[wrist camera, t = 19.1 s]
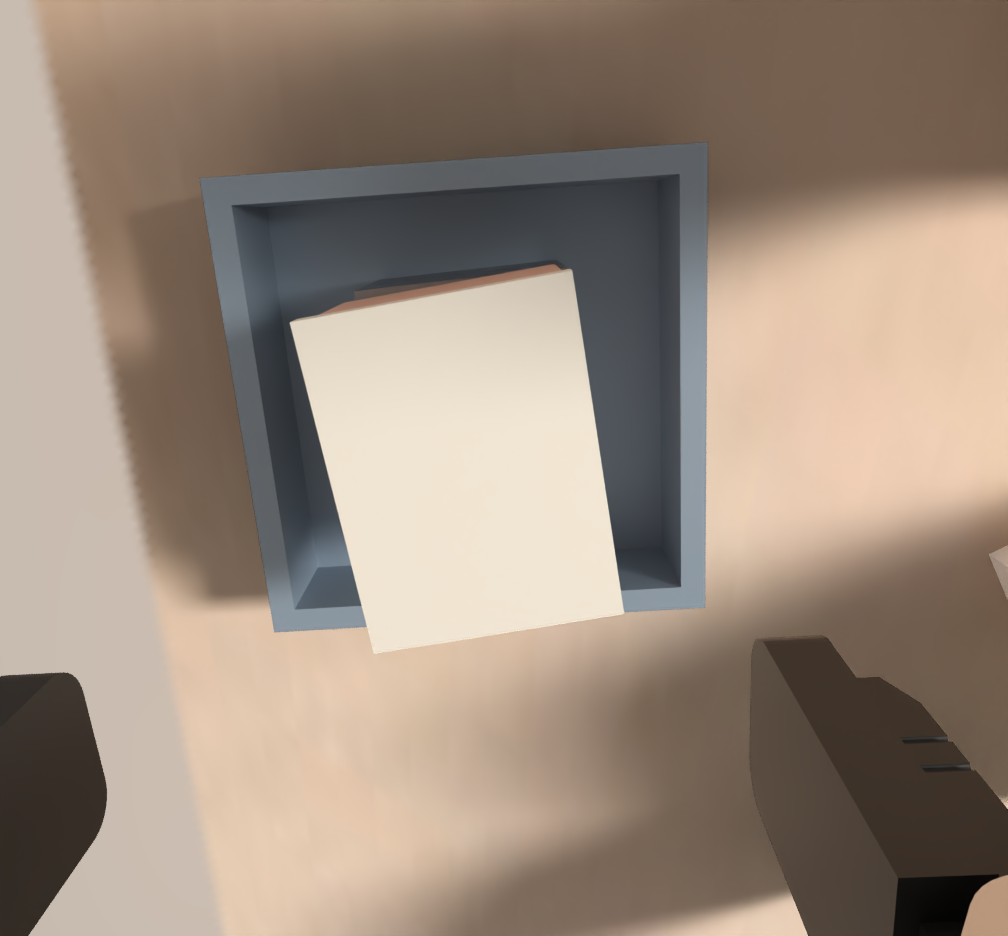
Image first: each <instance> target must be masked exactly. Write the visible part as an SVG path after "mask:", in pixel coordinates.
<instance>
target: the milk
mask: <svg viewBox="0 0 1008 936" xmlns="http://www.w3.org/2000/svg"><path fill="white" fill-rule="evenodd" d="M989 556H990V559H991V561H992V564H993V566H994V569H995V571H996V573H997V576H998V578H999V581H1000V583H1001V586H1002V588H1003V590H1004V593H1005V595H1006V598H1007V600H1008V545H1007V546H1005V547H1003V548H1001V549H998V550H996V551H994V552H992V553H990V554H989Z"/></svg>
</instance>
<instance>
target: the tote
mask: <svg viewBox="0 0 1008 936" xmlns="http://www.w3.org/2000/svg"><path fill="white" fill-rule="evenodd" d="M200 184H201V190H202V196H203V203H204V209H205V215H206V221H207V227H208V233H209V239H210V245H211V251H212V257H213V263H214V269H215V275H216V281H217V287H218V293H219V299H220V306H221V312H222V318H223V324H224V330H225V336H226V342H227V348H228V354H229V360H230V366H231V372H232V378H233V384H234V390H235V396H236V403H237V409H238V415H239V421H240V427H241V433H242V439H243V445H244V451H245V457H246V463H247V469H248V475H249V481H250V487H251V493H252V500H253V506H254V512H255V518H256V524H257V530H258V536H259V542H260V548H261V554H262V560H263V566H264V572H265V578H266V584H267V590H268V596H269V603H270V609H271V615H272V621H273V627H274V632H289V631H307V630H324V629H341V628H359V627H367V625H366V621H365V617H364V613H363V609H362V605H361V601H360V597H359V594H358V590H357V586H356V582H355V578H354V574H353V570H352V566H351V562H350V558H349V554H348V550H347V546H346V542H345V538H344V534H343V531H342V527H341V523H340V519H339V515H338V511H337V507H336V503H335V499H334V495H333V491H332V487H331V483H330V479H329V475H328V471H327V468H326V464H325V460H324V456H323V452H322V448H321V444H320V440H319V436H318V432H317V428H316V424H315V420H314V416H313V412H312V408H311V404H310V401H309V397H308V393H307V389H306V385H305V381H304V377H303V373H302V369H301V365H300V361H299V357H298V353H297V349H296V345H295V341H294V338H293V334H292V330H291V326H290V322H292V321H294V320H296V319H299V318H305V317H310V316H316V315H320V314H322V313H324V312H326V311H328V310H330V309H332V308H334V307H336V306H338V305H340V304H342V303H345V302H350V301H355V296H354V291H356V290H358V289H360V288H362V287H365V286H367V285H369V284H372V283H374V282H376V281H378V280H381V279H390V278H398V277H407V276H416V275H424V274H433V273H442V272H451V271H459V270H468V269H477V268H485V267H494V266H503V265H511V264H520V263H529V262H538V261H546V260H555V259H556V260H558V261H559V262H560V263H562V264H563V265H564V266H566V268H567V269H571V270H572V272H573V278H574V285H575V292H576V298H577V305H578V311H579V318H580V325H581V331H582V338H583V344H584V351H585V358H586V364H587V371H588V377H589V384H590V391H591V397H592V404H593V411H594V417H595V424H596V430H597V437H598V444H599V450H600V457H601V463H602V470H603V477H604V483H605V490H606V497H607V503H608V510H609V516H610V523H611V530H612V536H613V543H614V549H615V556H616V563H617V569H618V576H619V582H620V589H621V596H622V602H623V609H624V612H637V611H654V610H672V609H689V608H705V539H706V380H707V222H708V142H701V143H687V144H672V145H658V146H644V147H630V148H616V149H602V150H588V151H574V152H560V153H546V154H532V155H518V156H504V157H490V158H476V159H461V160H447V161H433V162H419V163H405V164H391V165H377V166H363V167H349V168H335V169H321V170H307V171H293V172H279V173H265V174H250V175H236V176H222V177H208V178H200Z"/></svg>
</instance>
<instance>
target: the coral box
mask: <svg viewBox="0 0 1008 936" xmlns="http://www.w3.org/2000/svg"><path fill="white" fill-rule="evenodd" d="M290 326H291V330H292V334H293V338H294V341H295V345H296V349H297V353H298V357H299V361H300V365H301V369H302V373H303V377H304V381H305V385H306V389H307V393H308V397H309V401H310V404H311V408H312V412H313V416H314V420H315V424H316V428H317V432H318V436H319V440H320V444H321V448H322V452H323V456H324V460H325V464H326V468H327V471H328V475H329V479H330V483H331V487H332V491H333V495H334V499H335V503H336V507H337V511H338V515H339V519H340V523H341V527H342V531H343V534H344V538H345V542H346V546H347V550H348V554H349V558H350V562H351V566H352V570H353V574H354V578H355V582H356V586H357V590H358V594H359V597H360V601H361V605H362V609H363V613H364V617H365V621H366V625H367V629H368V633H369V637H370V641H371V645H372V649H373V653H374V654H377V653H383V652H390V651H396V650H402V649H408V648H415V647H421V646H427V645H434V644H440V643H446V642H452V641H459V640H465V639H471V638H477V637H484V636H490V635H496V634H503V633H509V632H515V631H521V630H528V629H534V628H540V627H547V626H553V625H559V624H565V623H572V622H578V621H584V620H591V619H597V618H603V617H609V616H616V615H622V614H624V609H623V602H622V596H621V589H620V582H619V576H618V569H617V563H616V556H615V549H614V543H613V536H612V530H611V523H610V516H609V510H608V503H607V497H606V490H605V483H604V477H603V470H602V463H601V457H600V450H599V444H598V437H597V430H596V424H595V417H594V411H593V404H592V397H591V391H590V384H589V377H588V371H587V364H586V358H585V351H584V344H583V338H582V331H581V325H580V318H579V311H578V305H577V298H576V292H575V285H574V278H573V272H572V270H571V269H566V270H561V269H560V268H558V267H557V266H556V265H555V264H551V265H545V266H540V267H534V268H529V269H524V270H518V271H513V272H507V273H502V274H496V275H491V276H486V277H480V278H475V279H469V280H464V281H458V282H453V283H448V284H442V285H437V286H431V287H426V288H421V289H415V290H410V291H404V292H399V293H393V294H388V295H383V296H377V297H372V298H366V299H361V300H355V301H350V302H345V303H342V304H340V305H338V306H336V307H334V308H332V309H330V310H328V311H326V312H324V313H322V314H320V315H316V316H310V317H305V318H299V319H296V320H294V321H292V322H290Z"/></svg>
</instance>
